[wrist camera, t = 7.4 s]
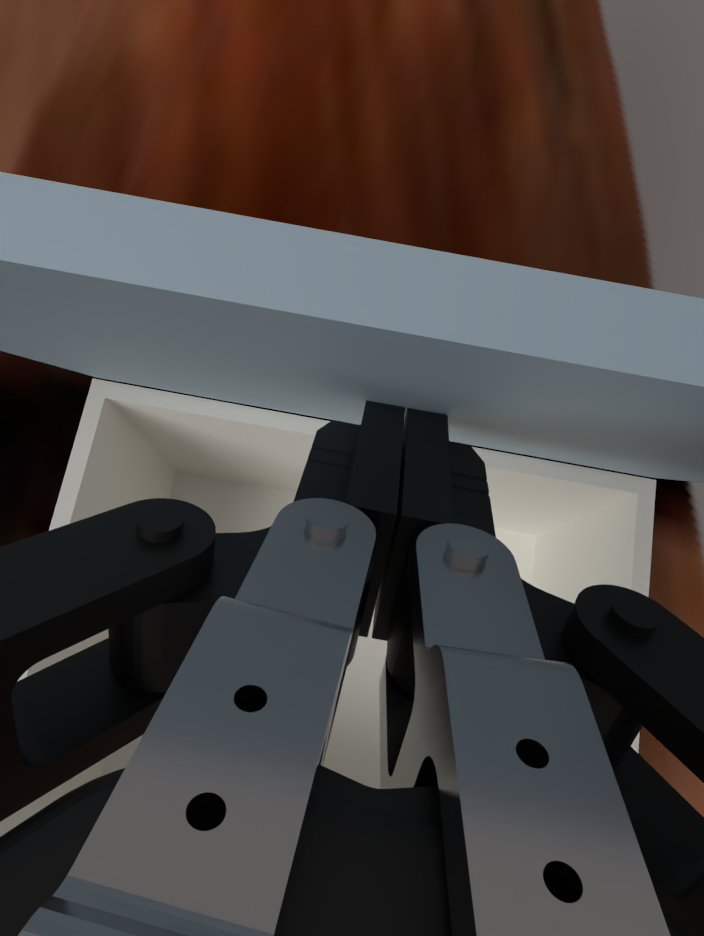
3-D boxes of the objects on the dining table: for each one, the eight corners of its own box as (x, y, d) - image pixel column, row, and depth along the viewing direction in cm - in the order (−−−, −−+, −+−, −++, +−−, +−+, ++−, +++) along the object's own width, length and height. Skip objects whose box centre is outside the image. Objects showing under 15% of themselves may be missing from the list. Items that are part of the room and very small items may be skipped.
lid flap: (1832, 589, 5) (1853, 505, 5) (-932, 93, 5) (-917, 6, 5) (653, 477, 23) (656, 460, 23) (96, 377, 23) (99, 360, 23)
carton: (503, 908, 30) (616, 1088, 18) (78, 831, 30) (-76, 963, 19) (543, 528, 34) (656, 480, 23) (171, 461, 34) (92, 378, 23)
